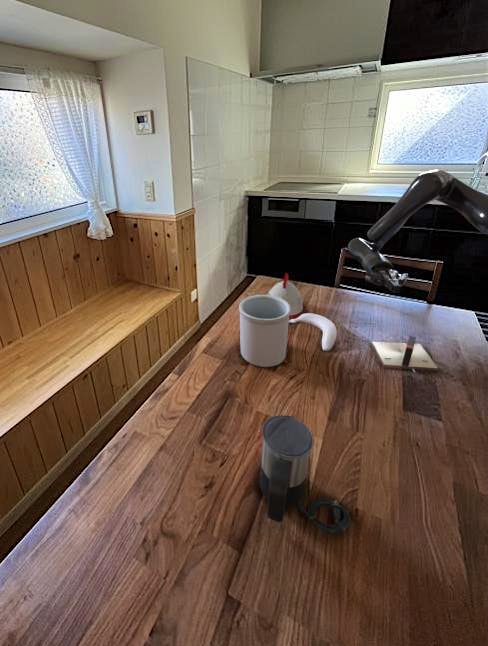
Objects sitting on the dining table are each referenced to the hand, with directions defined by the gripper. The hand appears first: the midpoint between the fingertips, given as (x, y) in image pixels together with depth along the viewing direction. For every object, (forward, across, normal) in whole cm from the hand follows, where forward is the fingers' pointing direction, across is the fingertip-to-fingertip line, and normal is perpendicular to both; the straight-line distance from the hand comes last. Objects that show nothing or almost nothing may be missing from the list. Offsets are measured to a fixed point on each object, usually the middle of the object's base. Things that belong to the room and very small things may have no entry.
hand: (396, 289), depth 99 cm
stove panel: (+9, +2, +20) cm, 22 cm away
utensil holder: (+9, -39, +20) cm, 44 cm away
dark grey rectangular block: (+10, +2, +18) cm, 20 cm away
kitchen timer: (-19, -30, +20) cm, 40 cm away
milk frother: (+53, -33, +20) cm, 66 cm away
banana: (-3, -22, +20) cm, 29 cm away
